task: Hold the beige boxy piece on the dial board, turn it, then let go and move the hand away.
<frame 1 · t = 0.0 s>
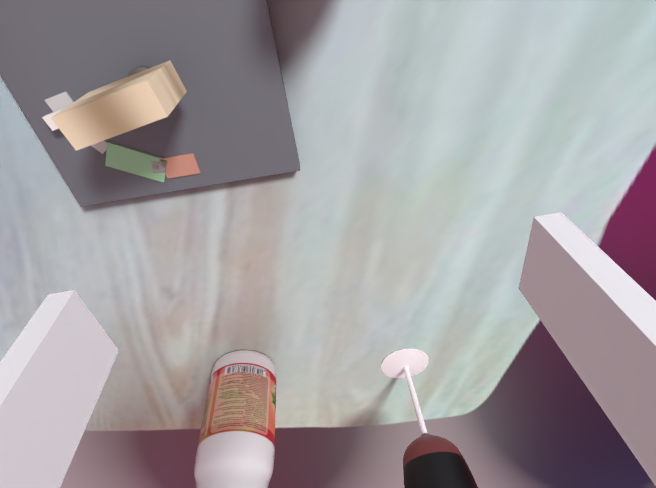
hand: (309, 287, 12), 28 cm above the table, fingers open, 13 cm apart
beige boxy piece: (97, 111, 29), point 6 cm above the table, hinge at 0.0°
wineglass: (404, 363, 61), on the table
fruit juice: (245, 367, 58), on the table
dial board: (152, 78, 34), on the table
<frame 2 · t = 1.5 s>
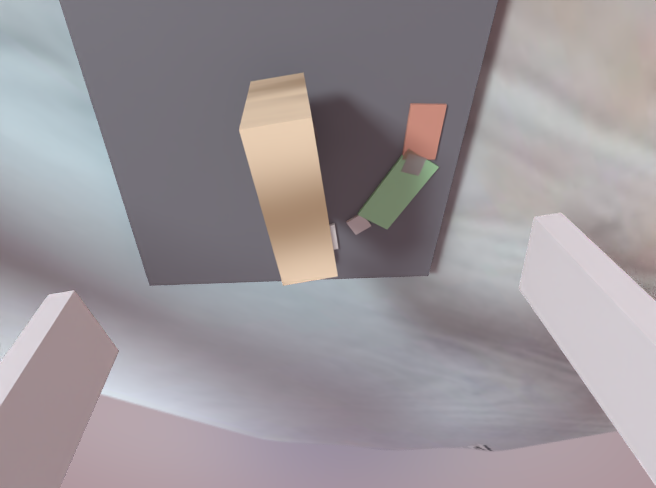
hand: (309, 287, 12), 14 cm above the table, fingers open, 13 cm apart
beige boxy piece: (303, 215, 20), point 6 cm above the table, hinge at 0.0°
dial board: (290, 122, 23), on the table
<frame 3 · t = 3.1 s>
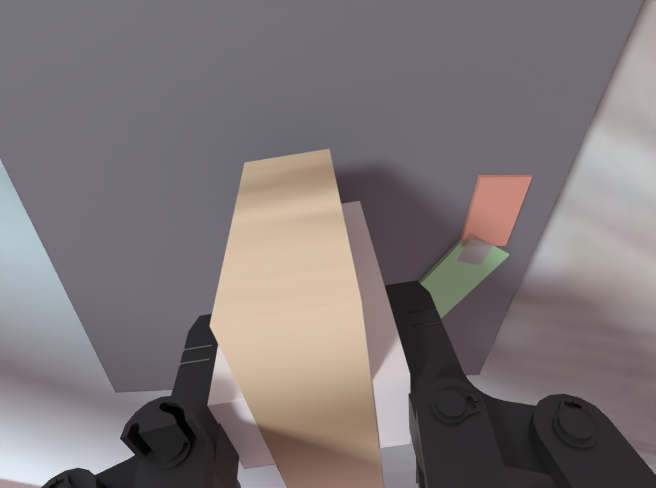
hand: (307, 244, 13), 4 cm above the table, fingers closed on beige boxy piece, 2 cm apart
beige boxy piece: (323, 351, 13), point 6 cm above the table, hinge at 0.0°, touching gripper
dial board: (304, 194, 16), on the table
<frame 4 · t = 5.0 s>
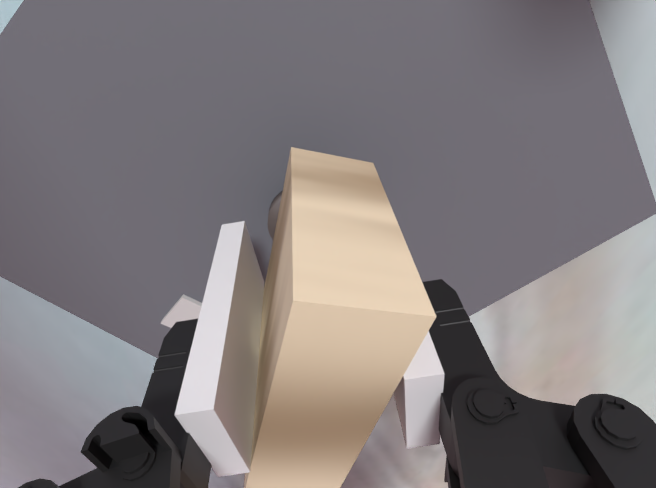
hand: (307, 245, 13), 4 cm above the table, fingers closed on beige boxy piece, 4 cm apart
beige boxy piece: (293, 350, 13), point 6 cm above the table, hinge at 27.1°, touching gripper
dial board: (304, 193, 16), on the table
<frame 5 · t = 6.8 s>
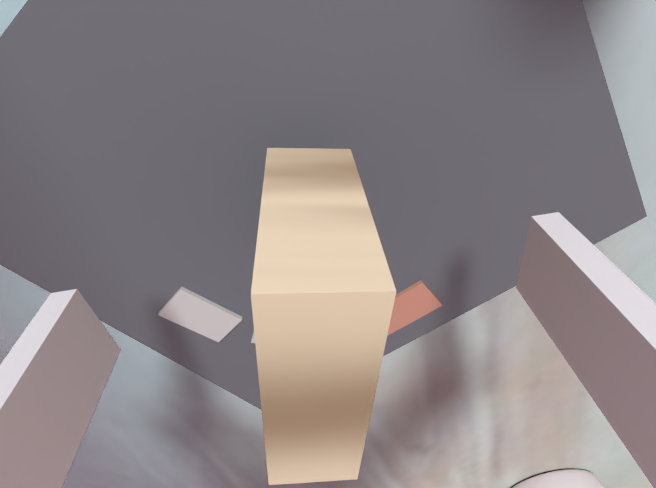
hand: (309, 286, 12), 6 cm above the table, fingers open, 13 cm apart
beige boxy piece: (308, 343, 13), point 6 cm above the table, hinge at 39.4°
fruit juice: (547, 486, 38), on the table
dial board: (303, 189, 16), on the table
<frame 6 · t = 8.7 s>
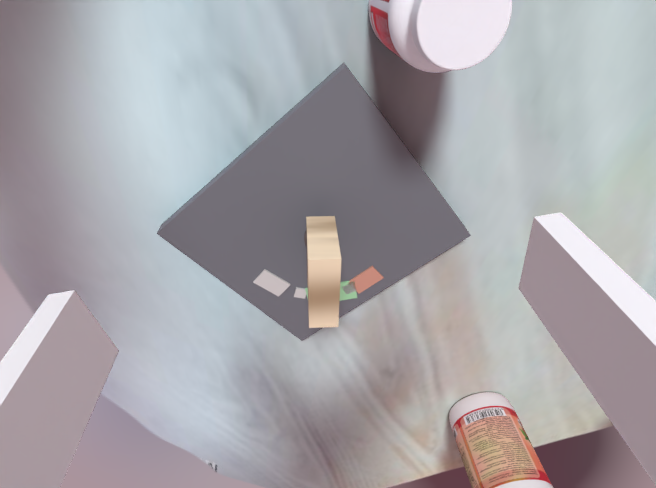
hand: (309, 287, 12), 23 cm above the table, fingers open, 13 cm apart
pill bottle: (409, 3, 28), on the table
beige boxy piece: (321, 287, 35), point 6 cm above the table, hinge at 39.7°
fruit juice: (477, 407, 59), on the table
dial board: (318, 226, 38), on the table
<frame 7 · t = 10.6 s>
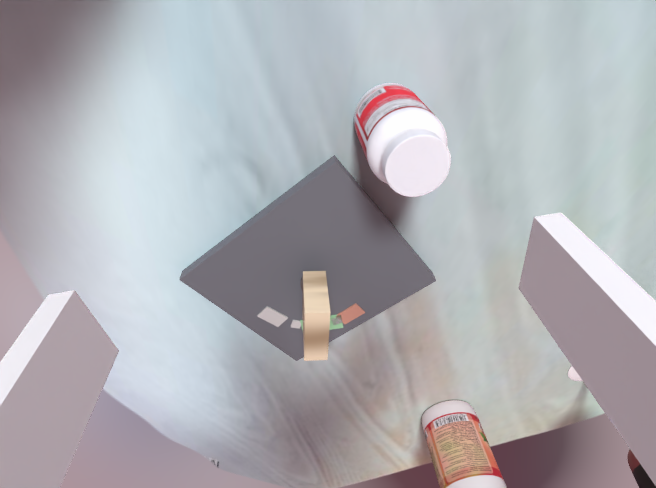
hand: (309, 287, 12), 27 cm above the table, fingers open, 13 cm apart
pill bottle: (385, 115, 36), on the table
beige boxy piece: (313, 325, 43), point 6 cm above the table, hinge at 39.7°
wineglass: (590, 366, 63), on the table
fruit juice: (446, 412, 68), on the table
dial board: (311, 271, 46), on the table
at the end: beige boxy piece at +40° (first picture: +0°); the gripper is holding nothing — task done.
